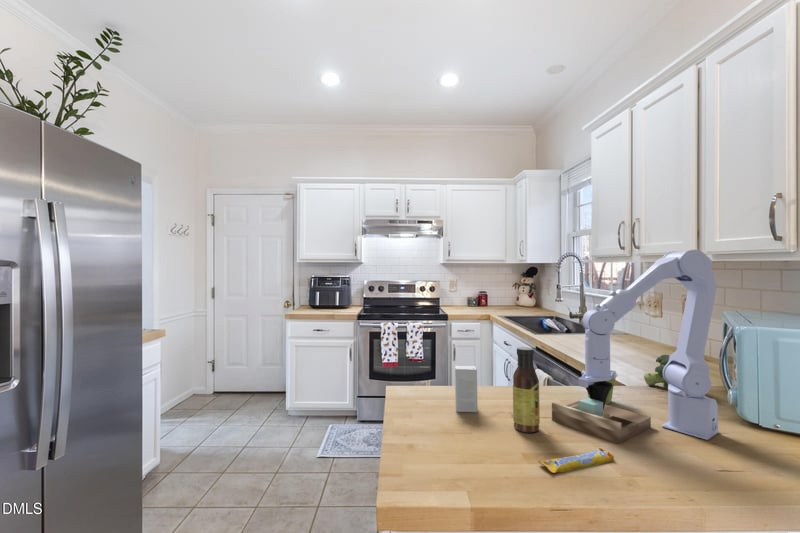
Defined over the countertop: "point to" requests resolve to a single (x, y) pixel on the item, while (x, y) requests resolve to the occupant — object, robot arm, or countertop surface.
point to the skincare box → (466, 388)
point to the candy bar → (577, 461)
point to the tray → (602, 421)
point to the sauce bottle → (526, 393)
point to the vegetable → (658, 372)
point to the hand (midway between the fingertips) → (598, 410)
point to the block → (591, 406)
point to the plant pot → (609, 391)
